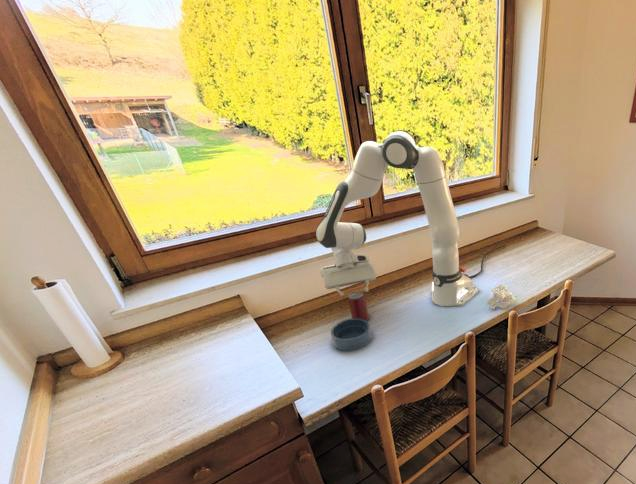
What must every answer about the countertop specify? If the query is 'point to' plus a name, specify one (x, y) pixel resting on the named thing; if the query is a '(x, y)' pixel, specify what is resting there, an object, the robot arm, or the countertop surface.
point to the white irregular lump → (501, 298)
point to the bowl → (351, 334)
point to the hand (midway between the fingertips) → (354, 294)
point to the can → (358, 305)
